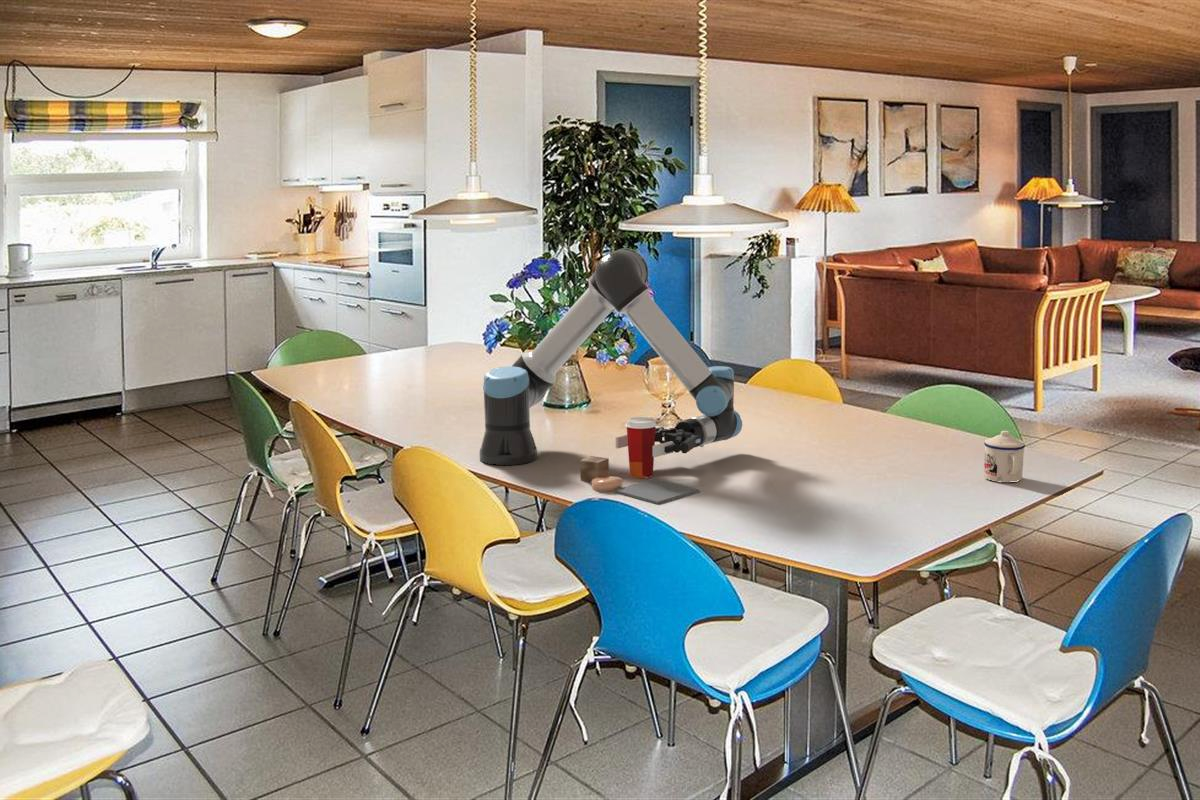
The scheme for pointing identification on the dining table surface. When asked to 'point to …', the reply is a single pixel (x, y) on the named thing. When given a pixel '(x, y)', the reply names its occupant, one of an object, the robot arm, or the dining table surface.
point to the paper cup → (641, 446)
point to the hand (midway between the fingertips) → (634, 447)
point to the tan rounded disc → (606, 483)
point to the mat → (656, 491)
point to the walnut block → (594, 468)
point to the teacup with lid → (1003, 458)
